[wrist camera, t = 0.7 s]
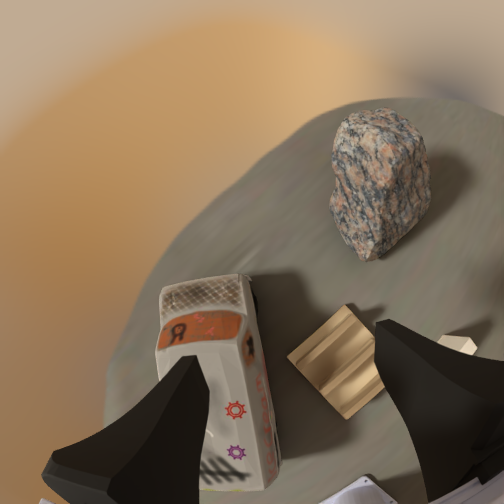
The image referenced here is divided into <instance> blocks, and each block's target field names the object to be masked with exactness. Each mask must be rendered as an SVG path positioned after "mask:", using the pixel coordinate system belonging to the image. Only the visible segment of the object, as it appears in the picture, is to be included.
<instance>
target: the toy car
mask: <svg viewBox="0 0 504 504" xmlns="http://www.w3.org/2000/svg"><path fill="white" fill-rule="evenodd" d="M249 282H252V280H251V278H250V277H249V276H248V275H243V274H231V275H222V276H214V277H208V278H202V279H196V280H191V281H187V282H182V283H178V284H174V285H170V286H166V287H163V288H162V291H161V294H160V296H159V306H160V322H161V331H160V333H159V336H158V341H157V345H156V352H155V354H156V360H157V369H158V376H159V382H160V380H161V379H162V378H163V377H164V376H165V375H166V374H167V373H168V371H169V370H170V369H171V368H172V367H173V366H174V365H175V363H176V362H177V361H178V360H179V359H180V358H181V357H182V356H189V355H197V358H198V361H199V363H200V366H201V369H202V372H203V374H204V377H205V380H206V382H207V385H208V387H209V390H210V403H209V415H208V421H207V426H206V432H205V437H204V443H203V448H202V454H201V461H200V479H199V490H212V491H260V490H265V489H266V488H268V487H269V486H270V485H271V484H272V483H273V482H274V480H275V479H276V478H277V477H278V474H279V470H280V466H281V465H282V460H281V452H280V448H279V442H278V436H277V429H276V427H277V423H276V420H275V414H274V409H273V404H272V398H271V393H270V388H269V382H268V376H267V370H266V365H265V359H264V354H263V349H262V344H261V340H260V335H259V330H258V326H257V319H256V318H257V315H258V314H257V313H258V306H257V298H256V296H255V295H254V293H253V291H252V288H251V287H250V284H249Z"/></svg>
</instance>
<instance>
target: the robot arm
mask: <svg viewBox="0 0 504 504" xmlns="http://www.w3.org/2000/svg"><path fill="white" fill-rule="evenodd" d="M374 363H375V366H376V368H377V371H378V373H379V376H380V378H381V381H382V382H383V384H384V386H385V388H386V390H387V391H388V393H389V395H390V397H391V398H392V400H393V402H394V403H395V405H396V407H397V409H398V411H399V412H400V414H401V416H402V418H403V420H404V422H405V424H406V426H407V428H408V431H409V433H410V436H411V439H412V441H413V444H414V447H415V450H416V453H417V456H418V459H419V463H420V466H421V470H422V474H423V478H424V482H425V487H426V492H427V497H428V504H504V361H498V360H491V359H486V358H481V357H477V356H473V355H469V354H466V353H463V352H459V351H456V350H454V349H451V348H448V347H446V346H444V345H441V344H439V343H436V342H434V341H432V340H430V339H428V338H426V337H424V336H422V335H420V334H418V333H416V332H414V331H412V330H410V329H408V328H406V327H405V326H403V325H401V324H399V323H397V322H395V321H393V320H390V319H387V320H383V321H379V322H376V329H375V350H374ZM209 403H210V390H209V387H208V385H207V382H206V380H205V377H204V374H203V372H202V369H201V366H200V363H199V361H198V358H197V355H189V356H182V357H181V358H180V359H179V360H178V361H177V362H176V363H175V365H174V366H173V367H172V368H171V369H170V370H169V371H168V373H167V374H166V375H165V376H164V377H163V378H162V379H161V380H160V382H159V383H158V384H157V385H156V386H155V387H154V388H153V389H152V390H151V391H150V392H149V393H148V394H147V395H146V396H145V397H144V398H143V399H142V400H141V401H140V402H139V403H138V404H137V405H136V406H134V407H133V408H132V409H131V410H130V411H128V412H127V413H126V414H125V415H123V416H122V417H121V418H119V419H118V420H117V421H115V422H113V423H112V424H110V425H109V426H107V427H106V428H104V429H103V430H101V431H100V432H98V433H96V434H94V435H92V436H90V437H88V438H86V439H84V440H82V441H80V442H77V443H75V444H72V445H70V446H67V447H64V448H62V449H59V450H56V451H54V452H53V453H52V455H51V457H50V459H49V461H48V463H47V465H46V467H45V469H44V471H43V473H42V474H41V475H42V478H43V480H44V482H45V483H46V484H47V485H48V486H49V487H50V488H51V489H52V490H54V491H55V492H56V493H57V494H58V495H60V496H61V497H62V498H63V499H65V500H66V501H67V502H68V503H70V504H199V479H200V461H201V454H202V448H203V443H204V437H205V432H206V426H207V421H208V415H209ZM365 480H367V481H365ZM390 501H392V502H390ZM39 504H55V503H53V502H51V501H49V500H46V499H44V498H42V499H41V501H40V503H39ZM319 504H398V503H397V501H395V500H394V499H393V498H392V497H391V496H389V495H388V494H387V493H386V492H385V491H383V490H382V489H381V488H380V487H379V486H378V485H376V484H375V483H374V482H373V481H372V480H371V479H370V478H368V477H367V476H362V477H360V478H359V479H358V480H356V481H355V482H353V483H352V484H350V485H349V486H347V487H345V488H344V489H342V490H341V491H339V492H337V493H336V494H334V495H332V496H331V497H329V498H327V499H326V500H324V501H322V502H320V503H319Z"/></svg>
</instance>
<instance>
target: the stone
mask: <svg viewBox="0 0 504 504" xmlns="http://www.w3.org/2000/svg"><path fill="white" fill-rule="evenodd" d="M332 168H333V171H334V173H335V176H336V188H335V190H334V191H333V193H332V197H331V198H330V205H329V209H330V212H331V214H332V215H333V218H334V220H335V223H336V225H337V227H338V230H339V232H340V234H341V235H342V237H343V239H344V240H345V242H346V244H347V245H348V246H349V247H350V248H351V250H352V251H353V252H355V253H356V254H357V255H358V257H359V258H360V259H361V260H362V261H365V262H369V261H373V260H376V259H378V258H379V257H380V256H382V255H384V254H385V253H386V252H387V251H388V250H389V249H390V248H392V247H393V246H394V245H395V244H396V243H397V242H398V240H399V239H400V238H401V237H402V236H404V235H405V234H407V233H408V232H409V231H410V230H411V229H412V227H413V226H414V225H415V224H417V223H418V222H419V221H420V220H421V219H422V218H423V217H424V215H425V214H426V213H427V212H428V208H429V203H430V201H431V188H430V179H431V176H430V167H429V164H428V161H427V154H426V149H425V146H424V142H423V138H422V136H421V134H420V133H419V131H418V130H417V129H416V128H415V127H414V126H413V125H412V124H411V122H410V121H408V120H407V119H406V118H404V117H403V116H401V115H400V114H399V113H398V112H397V111H395V110H392V109H390V108H386V107H383V108H379V109H377V110H374V111H367V110H363V111H358V112H355V113H352V114H350V115H349V116H347V117H346V118H345V119H344V120H343V122H342V124H341V126H340V127H339V128H338V130H337V134H336V137H335V139H334V145H333V151H332Z"/></svg>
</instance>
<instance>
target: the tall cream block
mask: <svg viewBox="0 0 504 504" xmlns="http://www.w3.org/2000/svg"><path fill="white" fill-rule="evenodd" d="M437 343H439V344H441V345H444V346H446V347H448V348H451V349H454V350H456V351H459V352H463V353H466V354H469V355H473V353H474V352H475V351H476V349H477V347H476V345H475V344H474V343H473V341H472V340H471V338H470V337H459V336H448V335H443V336H442V337H441V338H440V339H439V340H438V342H437Z"/></svg>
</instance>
